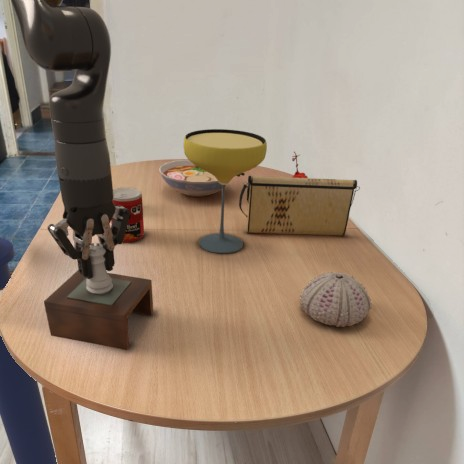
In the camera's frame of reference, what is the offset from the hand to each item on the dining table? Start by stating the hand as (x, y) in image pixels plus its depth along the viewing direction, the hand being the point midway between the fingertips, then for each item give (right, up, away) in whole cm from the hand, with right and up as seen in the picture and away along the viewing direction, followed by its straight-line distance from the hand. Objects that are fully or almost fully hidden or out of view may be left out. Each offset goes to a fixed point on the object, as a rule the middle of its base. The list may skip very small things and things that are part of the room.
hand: (97, 272), depth 76 cm
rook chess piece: (0, -3, +2) cm, 3 cm away
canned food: (-3, +12, +37) cm, 39 cm away
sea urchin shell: (+42, -7, +13) cm, 44 cm away
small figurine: (+42, +26, +63) cm, 80 cm away
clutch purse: (+39, +15, +45) cm, 61 cm away
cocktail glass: (+20, +10, +36) cm, 42 cm away
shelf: (0, -9, +6) cm, 10 cm away
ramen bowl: (+11, +30, +65) cm, 73 cm away
